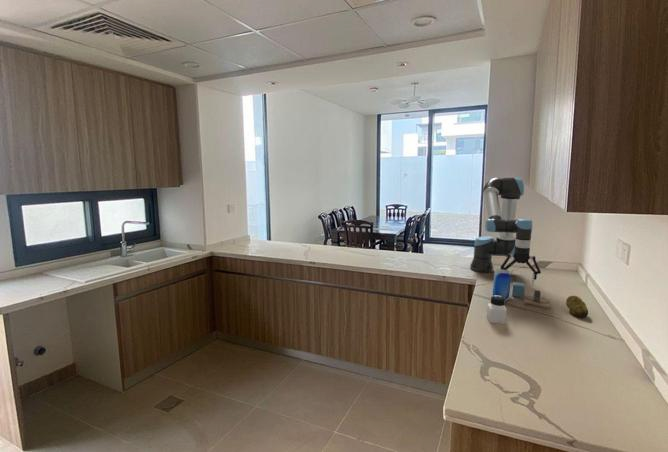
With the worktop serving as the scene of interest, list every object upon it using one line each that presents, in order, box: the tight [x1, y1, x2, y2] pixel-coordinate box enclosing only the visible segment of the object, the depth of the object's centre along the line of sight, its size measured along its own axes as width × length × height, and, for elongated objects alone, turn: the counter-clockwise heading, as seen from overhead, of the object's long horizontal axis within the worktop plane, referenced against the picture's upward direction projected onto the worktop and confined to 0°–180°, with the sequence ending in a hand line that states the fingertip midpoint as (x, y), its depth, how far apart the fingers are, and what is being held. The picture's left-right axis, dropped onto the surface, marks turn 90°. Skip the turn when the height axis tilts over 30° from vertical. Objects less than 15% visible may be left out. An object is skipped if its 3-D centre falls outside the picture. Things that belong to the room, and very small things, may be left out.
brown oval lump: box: [565, 295, 589, 318], centre depth 179 cm, size 8×13×8 cm, turn 156°
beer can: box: [492, 268, 512, 301], centre depth 198 cm, size 8×8×16 cm
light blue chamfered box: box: [511, 281, 525, 298], centre depth 204 cm, size 6×6×7 cm
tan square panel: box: [523, 289, 551, 310], centre depth 193 cm, size 12×12×6 cm
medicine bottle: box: [486, 295, 508, 325], centre depth 171 cm, size 7×7×12 cm
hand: (518, 283), depth 203 cm, fingers open, 13 cm apart
